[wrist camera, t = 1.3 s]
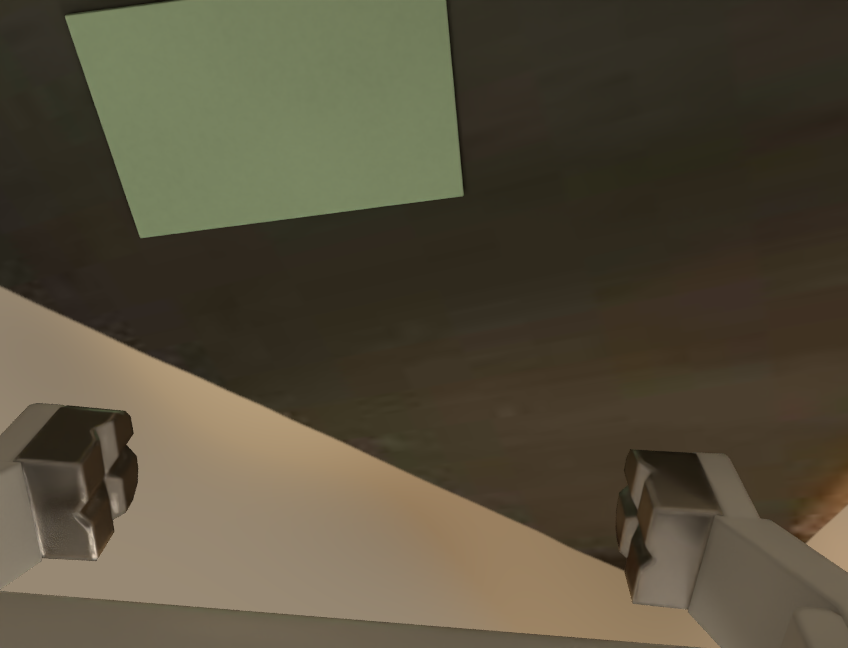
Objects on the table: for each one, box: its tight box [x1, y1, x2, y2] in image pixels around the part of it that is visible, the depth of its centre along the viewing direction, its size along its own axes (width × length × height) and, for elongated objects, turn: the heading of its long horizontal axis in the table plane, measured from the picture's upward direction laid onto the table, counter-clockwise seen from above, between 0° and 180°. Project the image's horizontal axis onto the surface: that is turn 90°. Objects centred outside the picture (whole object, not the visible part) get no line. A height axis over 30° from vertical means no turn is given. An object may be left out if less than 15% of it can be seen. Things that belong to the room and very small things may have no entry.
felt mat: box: [65, 0, 464, 238], centre depth 44 cm, size 20×13×1 cm, turn 96°
